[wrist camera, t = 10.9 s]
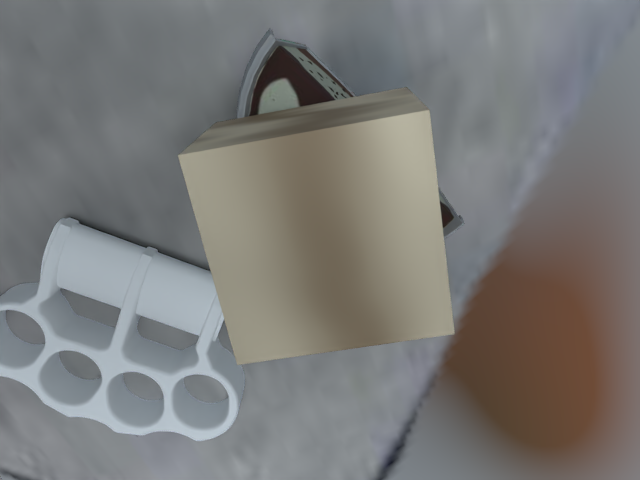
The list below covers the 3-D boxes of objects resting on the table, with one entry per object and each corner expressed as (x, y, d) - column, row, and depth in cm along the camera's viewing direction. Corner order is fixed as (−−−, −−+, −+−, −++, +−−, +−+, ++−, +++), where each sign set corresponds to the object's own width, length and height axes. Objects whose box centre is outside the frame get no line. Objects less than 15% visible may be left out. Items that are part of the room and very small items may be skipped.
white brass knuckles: (286, 288, 38) (219, 446, 43) (22, 192, 36) (-14, 369, 41) (281, 312, 35) (210, 479, 40) (-8, 208, 33) (-43, 398, 38)
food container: (215, 106, 33) (168, 141, 24) (285, 25, 31) (263, 28, 22) (363, 240, 36) (373, 319, 27) (435, 173, 34) (471, 232, 25)
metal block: (258, 291, 26) (237, 364, 21) (216, 122, 23) (178, 155, 18) (428, 264, 25) (454, 333, 20) (406, 87, 23) (429, 109, 17)
